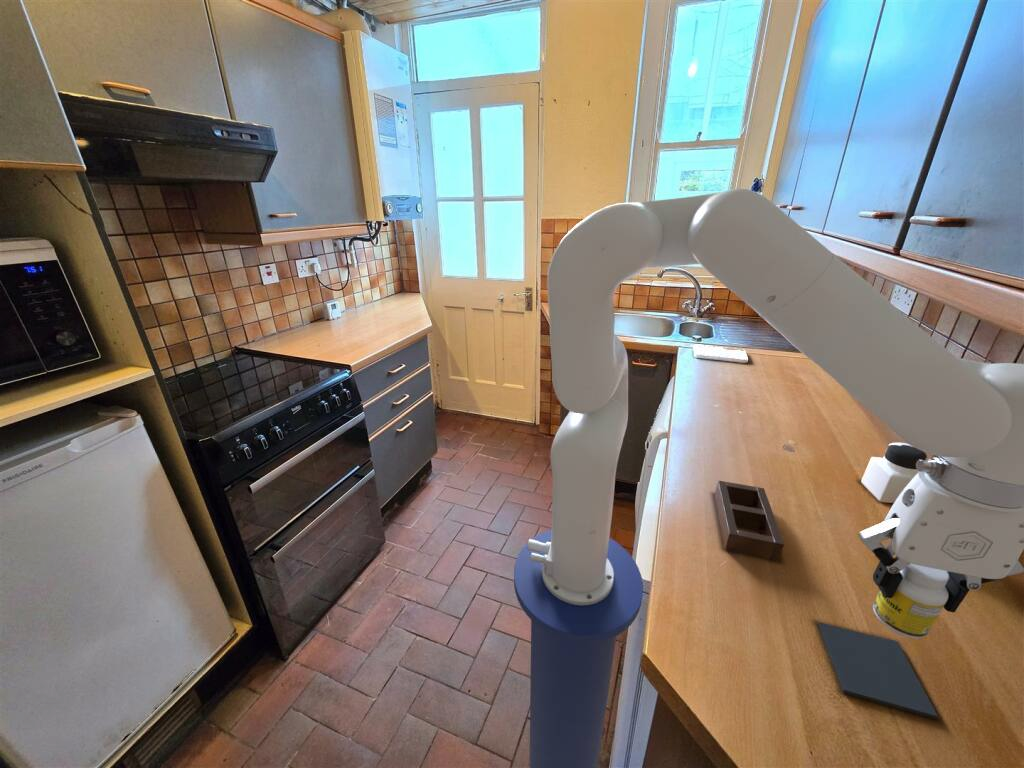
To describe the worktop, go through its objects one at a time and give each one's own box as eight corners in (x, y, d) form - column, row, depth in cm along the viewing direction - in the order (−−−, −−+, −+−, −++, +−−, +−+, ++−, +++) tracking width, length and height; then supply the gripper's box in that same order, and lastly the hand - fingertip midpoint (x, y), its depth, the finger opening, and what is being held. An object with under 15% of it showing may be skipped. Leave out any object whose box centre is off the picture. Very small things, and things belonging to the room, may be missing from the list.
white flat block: (693, 347, 179) (694, 343, 178) (743, 352, 172) (744, 348, 172) (693, 357, 168) (694, 353, 167) (748, 363, 161) (749, 359, 160)
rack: (724, 549, 76) (729, 533, 74) (714, 494, 90) (718, 480, 88) (778, 561, 73) (784, 544, 72) (759, 502, 88) (763, 488, 86)
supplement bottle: (864, 596, 56) (888, 545, 52) (913, 606, 54) (941, 554, 50) (882, 634, 51) (910, 580, 47) (936, 645, 50) (970, 591, 46)
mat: (842, 692, 54) (844, 690, 54) (817, 624, 63) (818, 621, 62) (936, 719, 51) (938, 716, 51) (896, 644, 60) (898, 641, 59)
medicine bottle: (917, 506, 86) (941, 459, 81) (879, 502, 87) (900, 456, 82) (895, 485, 92) (916, 440, 87) (859, 481, 94) (878, 437, 89)
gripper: (898, 484, 43) (842, 602, 50) (1123, 518, 38) (1024, 644, 45) (866, 446, 49) (821, 556, 57) (1055, 471, 44) (978, 588, 52)
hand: (912, 594), depth 51 cm, fingers closed on supplement bottle, 5 cm apart
